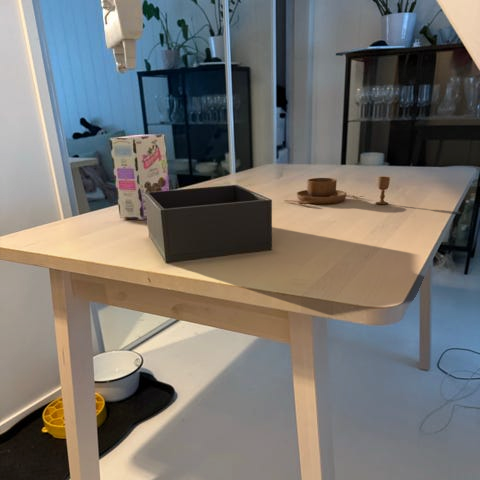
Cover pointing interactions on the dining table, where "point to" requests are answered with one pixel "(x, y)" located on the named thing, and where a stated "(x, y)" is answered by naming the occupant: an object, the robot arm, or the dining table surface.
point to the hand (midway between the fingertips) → (126, 71)
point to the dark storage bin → (208, 222)
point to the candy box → (138, 171)
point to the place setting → (332, 191)
